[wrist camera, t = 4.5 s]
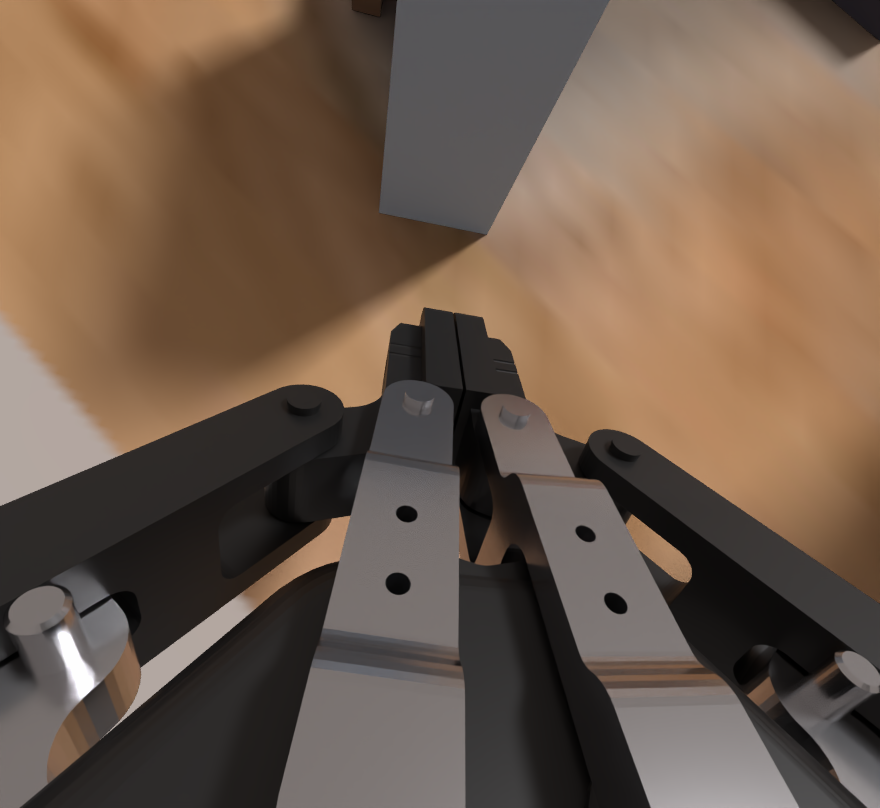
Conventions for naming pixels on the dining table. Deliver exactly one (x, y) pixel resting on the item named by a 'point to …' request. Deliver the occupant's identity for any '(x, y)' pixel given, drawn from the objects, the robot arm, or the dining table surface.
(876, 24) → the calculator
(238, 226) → the dining table surface
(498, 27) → the loose book
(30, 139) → the dining table surface
